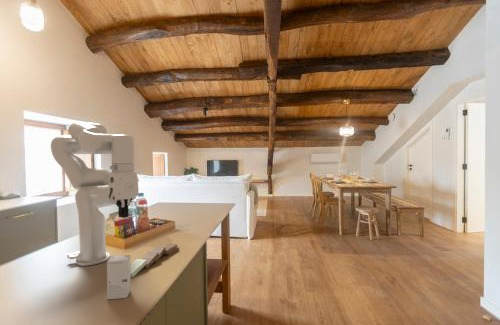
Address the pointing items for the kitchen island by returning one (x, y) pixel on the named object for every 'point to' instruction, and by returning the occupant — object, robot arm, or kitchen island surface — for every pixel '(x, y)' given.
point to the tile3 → (169, 248)
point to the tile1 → (150, 258)
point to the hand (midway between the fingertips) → (123, 216)
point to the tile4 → (172, 251)
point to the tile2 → (159, 250)
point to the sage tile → (136, 266)
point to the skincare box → (118, 277)
